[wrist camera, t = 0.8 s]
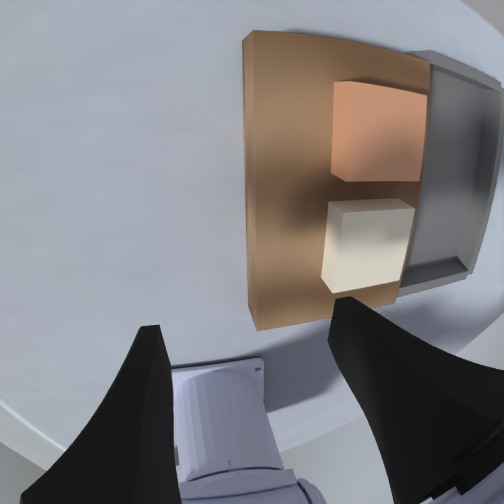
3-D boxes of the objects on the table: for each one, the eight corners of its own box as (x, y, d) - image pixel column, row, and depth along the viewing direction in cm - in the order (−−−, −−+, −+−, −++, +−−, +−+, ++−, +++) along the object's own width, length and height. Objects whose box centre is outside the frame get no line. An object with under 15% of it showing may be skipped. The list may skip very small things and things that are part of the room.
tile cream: (385, 266, 18) (399, 280, 17) (321, 277, 17) (332, 293, 16) (397, 198, 16) (414, 208, 14) (328, 201, 15) (343, 213, 14)
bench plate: (377, 284, 22) (394, 302, 20) (248, 306, 20) (256, 331, 18) (403, 62, 14) (430, 61, 12) (242, 40, 13) (252, 30, 10)
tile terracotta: (401, 172, 15) (419, 181, 14) (330, 172, 14) (346, 181, 13) (407, 93, 13) (427, 95, 12) (333, 81, 12) (350, 81, 11)
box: (455, 265, 24) (470, 277, 22) (381, 281, 22) (396, 297, 20) (485, 81, 16) (505, 85, 14) (406, 51, 14) (429, 50, 12)
